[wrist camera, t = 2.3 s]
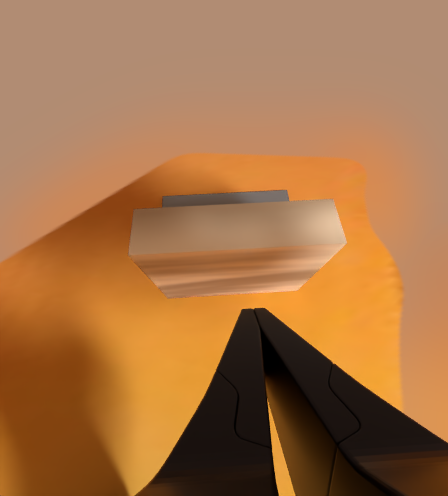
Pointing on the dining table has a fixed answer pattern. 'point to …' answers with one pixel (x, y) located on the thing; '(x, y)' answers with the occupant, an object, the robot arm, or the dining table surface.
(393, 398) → the dining table surface
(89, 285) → the dining table surface
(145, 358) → the dining table surface
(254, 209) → the beige streaked flat block
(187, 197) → the charcoal rubber mat
